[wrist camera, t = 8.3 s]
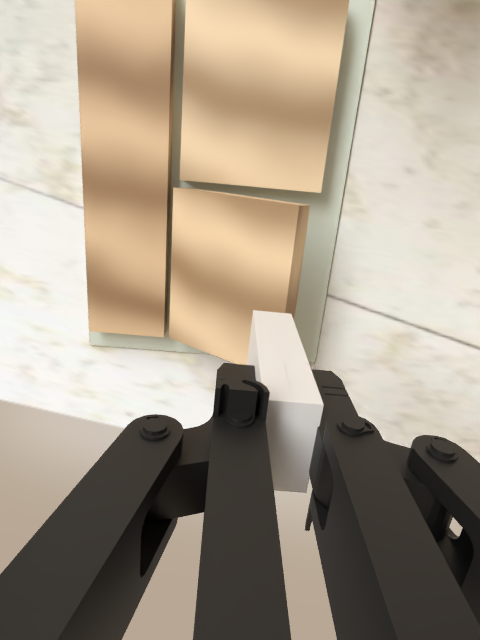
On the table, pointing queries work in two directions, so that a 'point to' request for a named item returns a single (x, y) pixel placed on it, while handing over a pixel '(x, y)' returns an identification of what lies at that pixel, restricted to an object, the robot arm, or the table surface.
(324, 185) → the underlay sheet
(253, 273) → the plank
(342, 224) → the table surface
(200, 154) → the plank
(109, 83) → the laid floorboard
